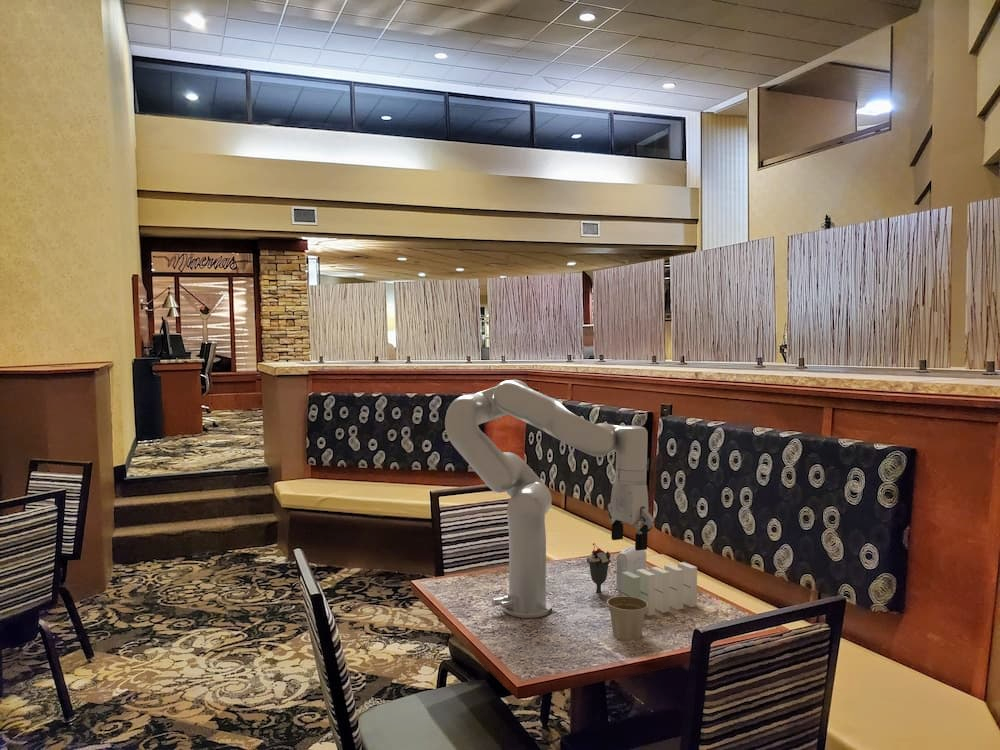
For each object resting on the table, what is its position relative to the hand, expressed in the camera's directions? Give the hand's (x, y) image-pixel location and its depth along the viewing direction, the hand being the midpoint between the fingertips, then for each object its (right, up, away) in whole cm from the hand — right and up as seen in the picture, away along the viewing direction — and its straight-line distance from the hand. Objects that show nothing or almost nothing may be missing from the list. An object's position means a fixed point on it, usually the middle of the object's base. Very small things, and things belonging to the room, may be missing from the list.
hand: (628, 544), depth 168 cm
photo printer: (+5, -19, +21) cm, 29 cm away
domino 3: (+13, -17, +6) cm, 22 cm away
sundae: (-5, -19, +16) cm, 25 cm away
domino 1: (+5, -17, +2) cm, 18 cm away
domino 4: (+17, -17, +8) cm, 25 cm away
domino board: (+8, -19, +4) cm, 21 cm away
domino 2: (+9, -17, +4) cm, 20 cm away
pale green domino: (0, -18, 0) cm, 17 cm away
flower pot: (-3, -19, -12) cm, 23 cm away
